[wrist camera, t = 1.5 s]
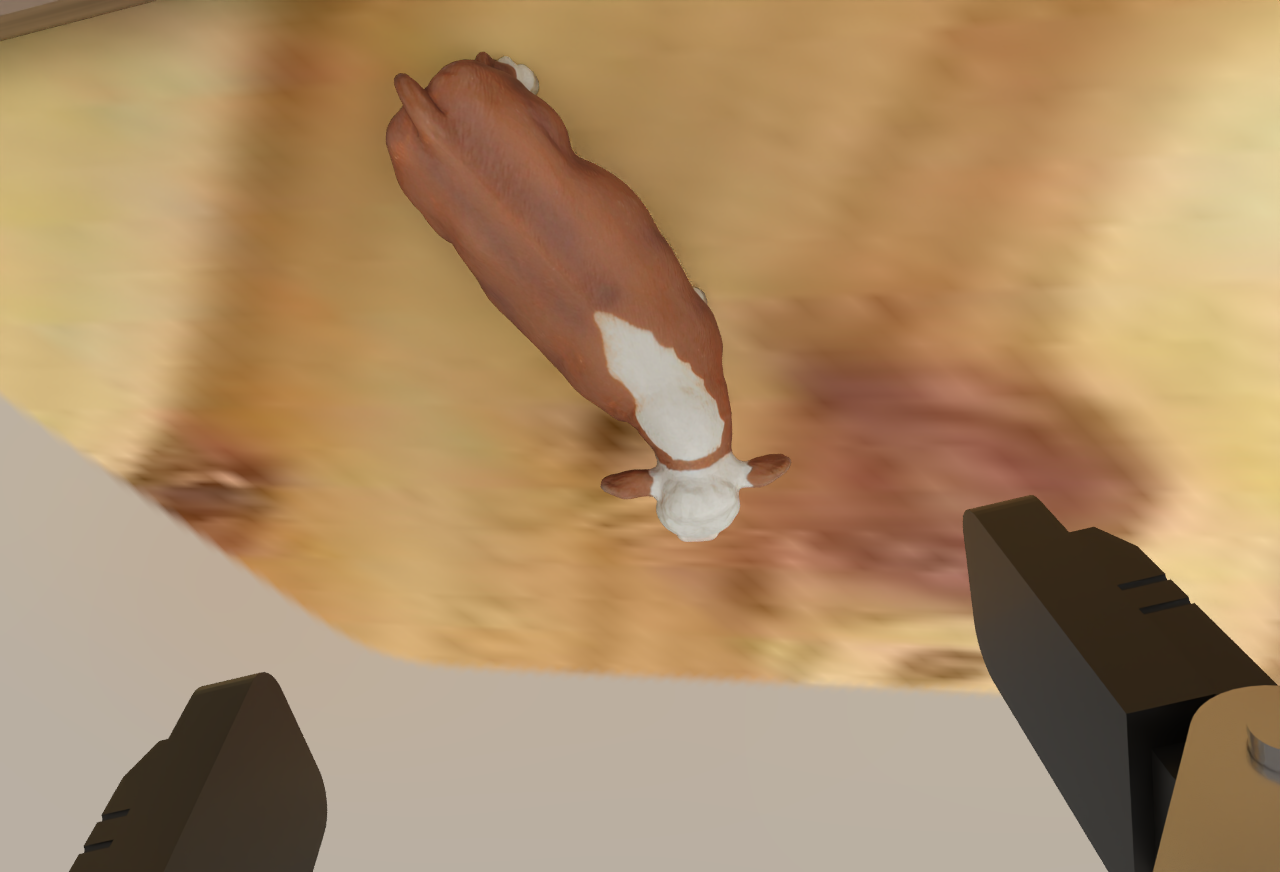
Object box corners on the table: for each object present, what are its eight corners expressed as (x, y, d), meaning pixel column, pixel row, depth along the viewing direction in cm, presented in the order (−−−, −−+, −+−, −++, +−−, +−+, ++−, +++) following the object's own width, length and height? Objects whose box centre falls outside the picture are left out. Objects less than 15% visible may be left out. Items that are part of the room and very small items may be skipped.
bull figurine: (656, 467, 32) (680, 613, 25) (385, 90, 27) (313, 130, 20) (776, 394, 32) (838, 521, 24) (520, -7, 27) (498, -4, 19)
